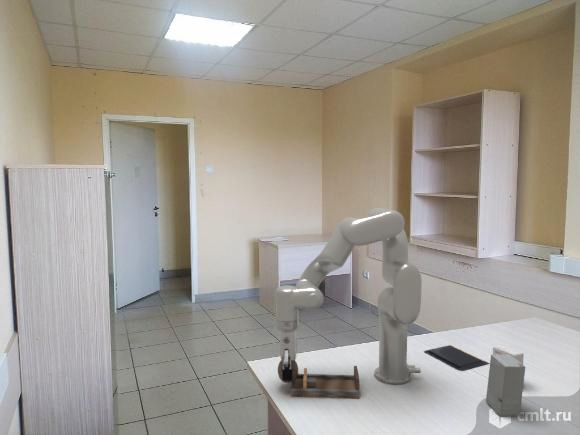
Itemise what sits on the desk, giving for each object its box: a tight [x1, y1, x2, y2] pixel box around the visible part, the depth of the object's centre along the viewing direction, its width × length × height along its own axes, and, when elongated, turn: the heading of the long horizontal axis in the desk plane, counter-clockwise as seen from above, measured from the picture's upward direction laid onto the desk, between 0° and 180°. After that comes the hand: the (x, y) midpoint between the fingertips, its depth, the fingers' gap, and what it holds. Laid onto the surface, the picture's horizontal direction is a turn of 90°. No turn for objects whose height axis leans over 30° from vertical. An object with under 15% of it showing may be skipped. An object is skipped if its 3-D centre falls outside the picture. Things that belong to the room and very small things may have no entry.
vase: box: [277, 357, 299, 384], centre depth 145 cm, size 7×7×9 cm
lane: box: [290, 365, 361, 400], centre depth 144 cm, size 22×12×6 cm, turn 86°
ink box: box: [492, 344, 524, 365], centre depth 147 cm, size 9×5×12 cm, turn 26°
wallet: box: [423, 344, 490, 372], centre depth 168 cm, size 20×2×15 cm
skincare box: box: [485, 353, 526, 417], centre depth 130 cm, size 8×7×16 cm
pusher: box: [303, 367, 316, 389], centre depth 145 cm, size 4×9×4 cm, turn 176°
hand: (288, 374), depth 145 cm, fingers closed on vase, 6 cm apart
